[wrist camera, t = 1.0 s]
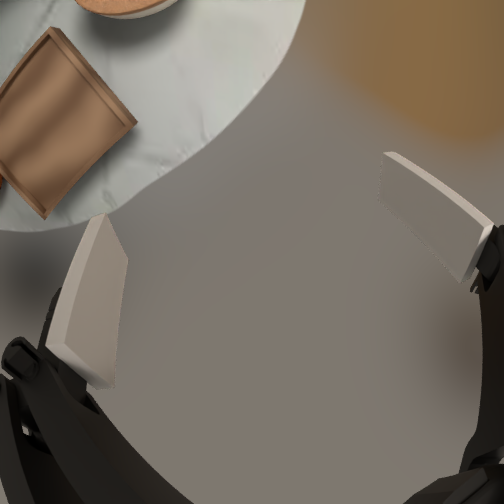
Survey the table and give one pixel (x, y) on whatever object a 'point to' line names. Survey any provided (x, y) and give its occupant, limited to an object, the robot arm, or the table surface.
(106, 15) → the lidded bowl
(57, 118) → the tray
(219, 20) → the table surface
